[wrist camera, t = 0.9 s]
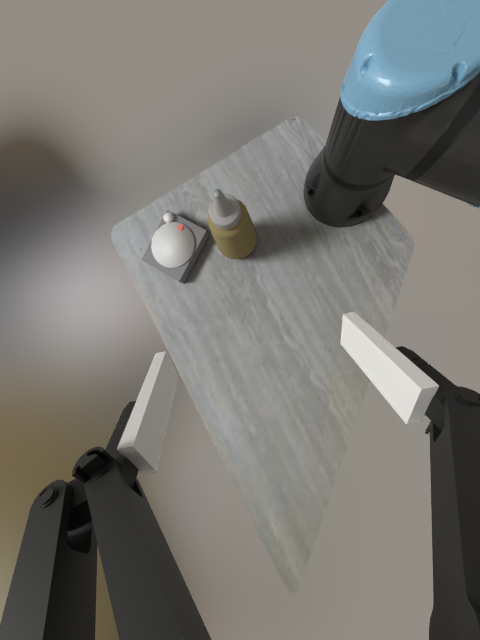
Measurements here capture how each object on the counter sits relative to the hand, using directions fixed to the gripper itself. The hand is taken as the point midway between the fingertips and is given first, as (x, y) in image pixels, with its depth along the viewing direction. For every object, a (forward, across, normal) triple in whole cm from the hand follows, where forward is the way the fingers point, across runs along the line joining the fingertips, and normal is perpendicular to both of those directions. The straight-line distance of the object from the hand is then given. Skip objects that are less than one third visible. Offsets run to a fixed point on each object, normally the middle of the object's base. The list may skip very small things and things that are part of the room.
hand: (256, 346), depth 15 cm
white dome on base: (+36, -12, +2) cm, 38 cm away
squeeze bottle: (+34, +2, 0) cm, 34 cm away
